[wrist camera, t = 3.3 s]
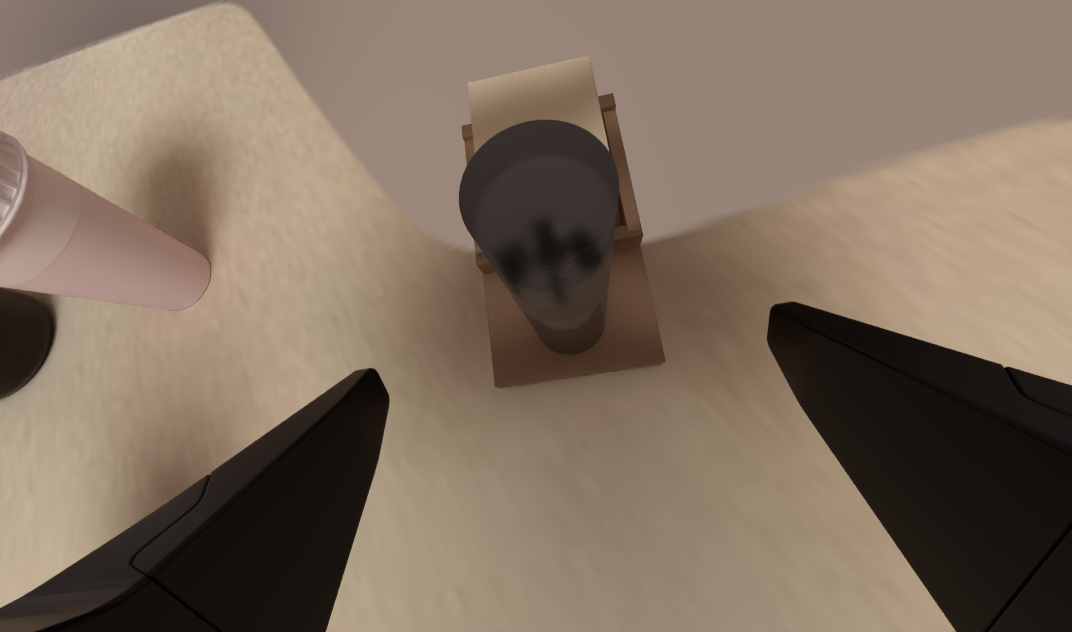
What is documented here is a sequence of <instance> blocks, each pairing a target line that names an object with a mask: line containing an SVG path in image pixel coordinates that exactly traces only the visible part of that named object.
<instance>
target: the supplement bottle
mask: <svg viewBox="0 0 1072 632" xmlns="http://www.w3.org/2000/svg"><path fill="white" fill-rule="evenodd" d="M51 336H52V322H51V318H50V315H49V313H48V311H47V309H46V308H45V306H44V305H43V304H42V303H41V302H40V301H38V300H37V299H36V298H34V297H32V296H30V295H27V294H24V293H21V292H17V291H13V290H9V289H4V288H1V287H0V399H3V398H5V397H7V396H9V395H10V394H12V393H14V392H15V391H17V390H18V389H19V388H21V387H22V386H23V385H24V384H25V383H26V382H27V381H28V380H29V379H30V378H31V377H32V376H33V375H34V373H35V372H36V371H37V369H38V368H39V366H40V365H41V363H42V361H43V360H44V358H45V356H46V353H47V351H48V348H49V345H50V341H51Z"/></svg>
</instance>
